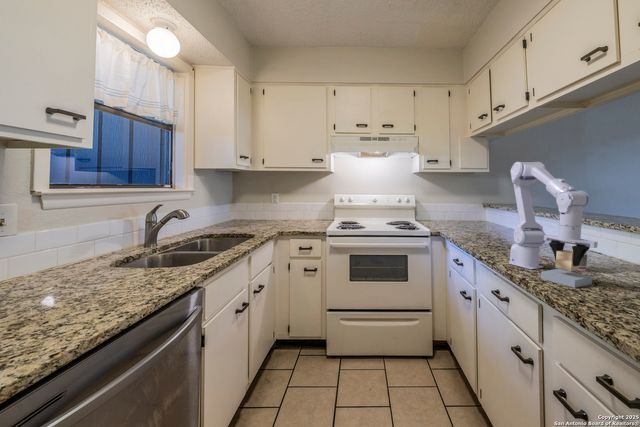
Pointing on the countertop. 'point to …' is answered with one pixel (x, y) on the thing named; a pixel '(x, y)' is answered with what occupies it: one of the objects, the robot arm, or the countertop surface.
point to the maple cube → (565, 260)
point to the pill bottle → (582, 262)
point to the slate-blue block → (566, 277)
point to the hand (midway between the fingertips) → (567, 264)
